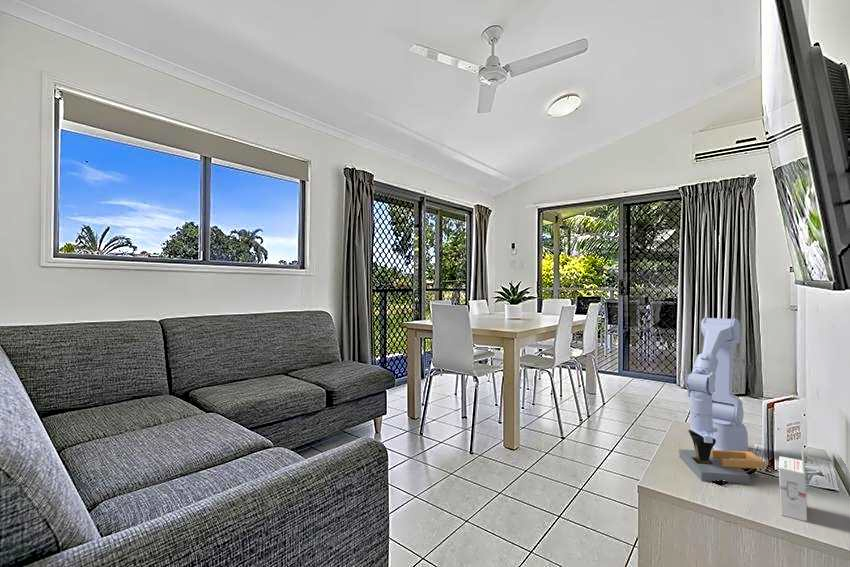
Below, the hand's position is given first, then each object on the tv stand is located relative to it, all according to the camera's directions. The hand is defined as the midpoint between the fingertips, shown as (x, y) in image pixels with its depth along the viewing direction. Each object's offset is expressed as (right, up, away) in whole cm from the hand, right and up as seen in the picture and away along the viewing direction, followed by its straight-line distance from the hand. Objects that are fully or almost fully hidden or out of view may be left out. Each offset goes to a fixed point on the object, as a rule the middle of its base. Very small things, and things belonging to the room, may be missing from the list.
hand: (702, 457), depth 125 cm
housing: (+3, -3, -1) cm, 4 cm away
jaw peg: (0, -2, 0) cm, 2 cm away
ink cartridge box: (+7, -4, -23) cm, 24 cm away
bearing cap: (+9, 0, -2) cm, 9 cm away
